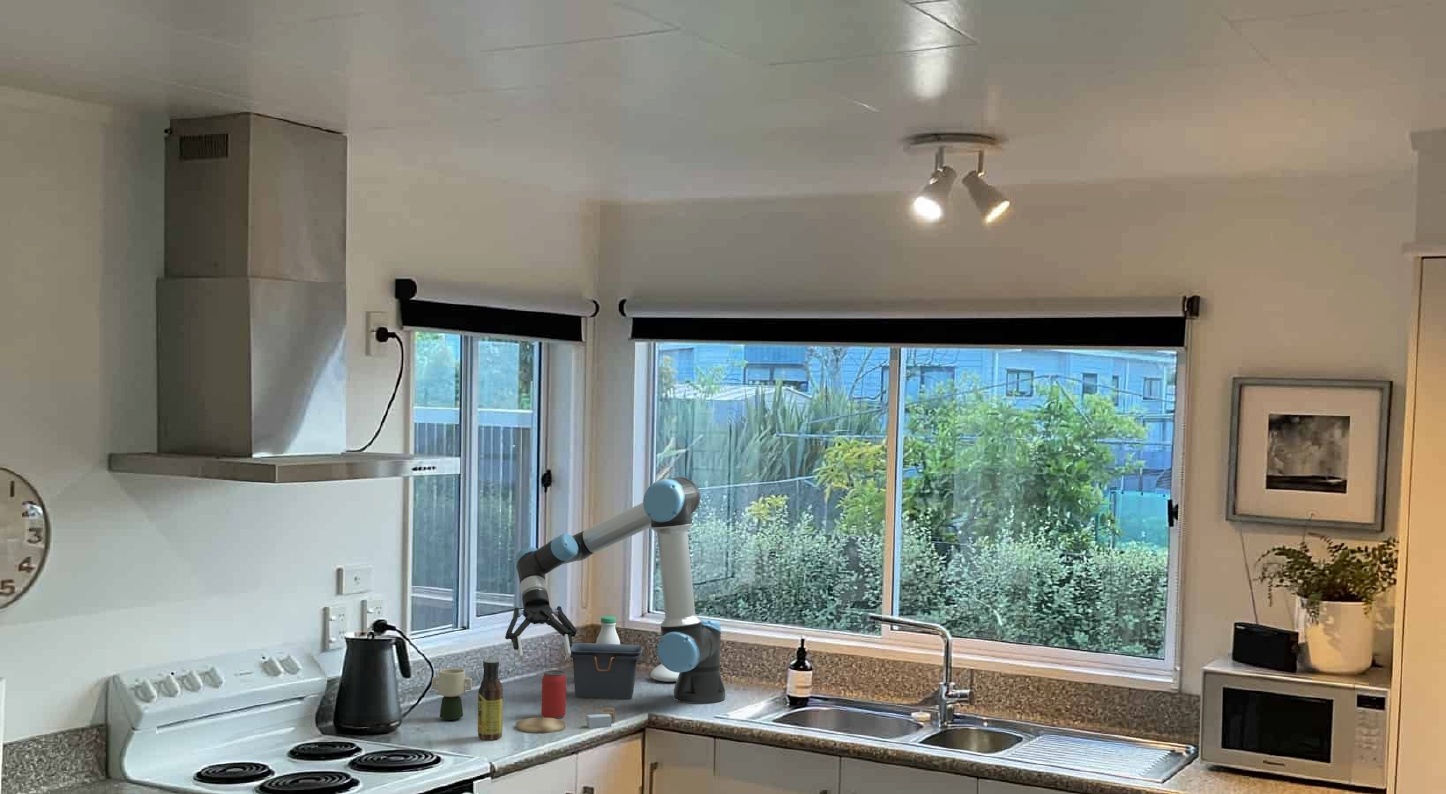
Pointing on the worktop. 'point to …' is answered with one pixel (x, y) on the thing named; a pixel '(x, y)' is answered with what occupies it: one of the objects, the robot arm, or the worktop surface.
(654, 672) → the flower in vase
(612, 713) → the walnut block
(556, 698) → the beer can
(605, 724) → the grey-blue block
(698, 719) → the worktop surface
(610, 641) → the milk bottle
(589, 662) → the storage bin
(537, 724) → the trivet
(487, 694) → the sauce bottle
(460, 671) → the character mug
